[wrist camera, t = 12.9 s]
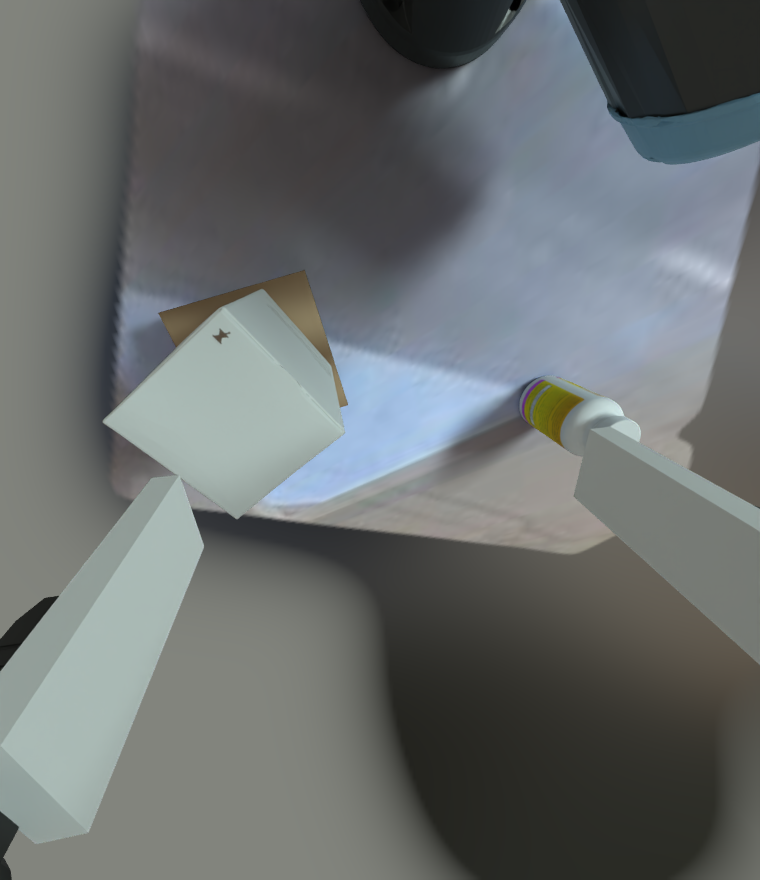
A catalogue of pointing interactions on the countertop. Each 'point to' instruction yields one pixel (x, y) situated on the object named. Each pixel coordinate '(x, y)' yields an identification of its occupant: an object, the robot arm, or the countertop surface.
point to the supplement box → (235, 405)
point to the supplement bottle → (571, 412)
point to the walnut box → (286, 293)
